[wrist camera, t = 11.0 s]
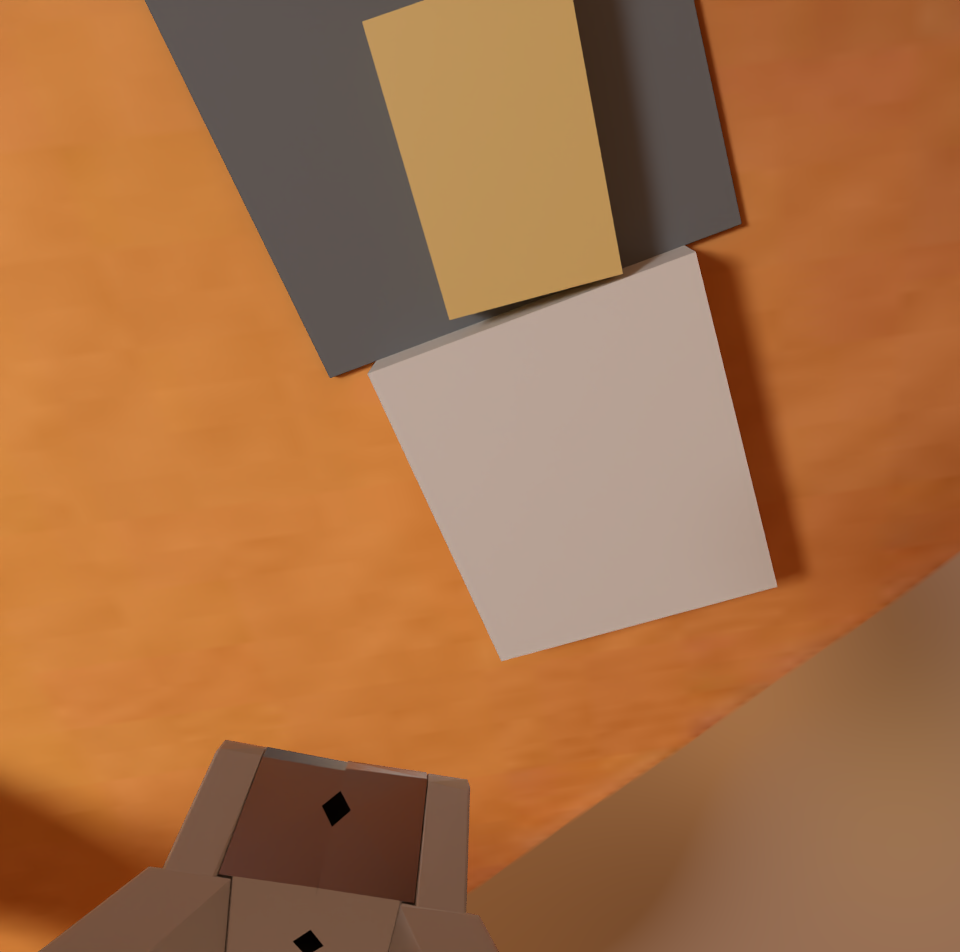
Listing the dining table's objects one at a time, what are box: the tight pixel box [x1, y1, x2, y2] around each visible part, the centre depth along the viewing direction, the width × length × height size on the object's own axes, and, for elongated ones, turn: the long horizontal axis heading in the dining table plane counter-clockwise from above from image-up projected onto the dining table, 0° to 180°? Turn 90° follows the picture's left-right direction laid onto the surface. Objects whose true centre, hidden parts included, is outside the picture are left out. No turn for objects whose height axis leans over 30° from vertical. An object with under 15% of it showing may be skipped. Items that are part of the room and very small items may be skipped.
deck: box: [368, 245, 777, 661], centre depth 27 cm, size 12×14×2 cm
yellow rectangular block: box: [362, 0, 623, 320], centre depth 22 cm, size 9×6×2 cm, turn 16°
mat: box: [145, 0, 742, 378], centre depth 22 cm, size 16×18×1 cm
